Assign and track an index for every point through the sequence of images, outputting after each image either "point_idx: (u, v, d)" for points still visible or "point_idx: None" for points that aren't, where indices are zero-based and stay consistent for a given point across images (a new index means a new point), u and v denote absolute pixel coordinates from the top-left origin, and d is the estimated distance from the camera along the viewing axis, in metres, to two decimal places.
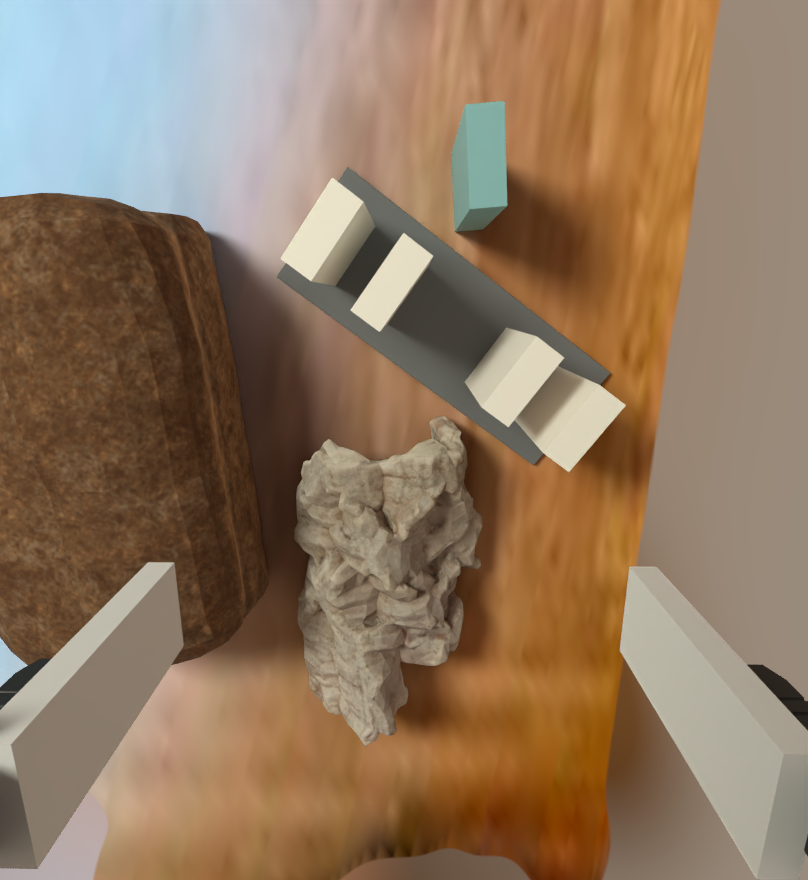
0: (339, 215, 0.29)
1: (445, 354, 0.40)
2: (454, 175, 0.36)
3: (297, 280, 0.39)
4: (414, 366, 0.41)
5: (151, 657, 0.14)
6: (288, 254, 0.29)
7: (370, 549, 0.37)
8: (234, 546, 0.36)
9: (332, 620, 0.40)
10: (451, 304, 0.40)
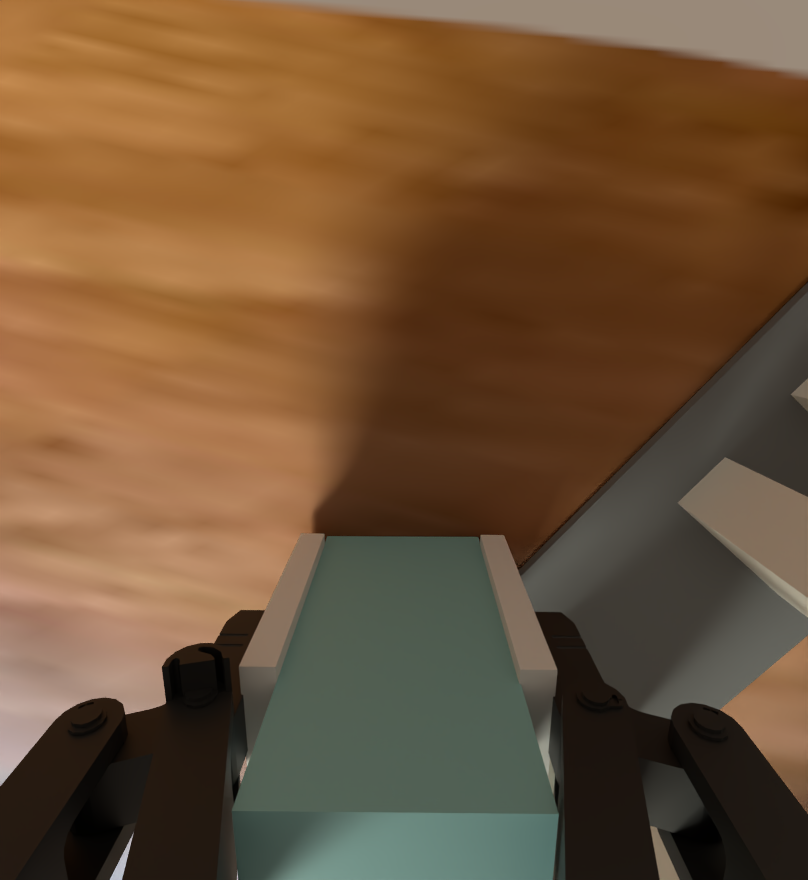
0: None
1: (707, 629, 0.18)
2: None
3: None
4: (718, 688, 0.19)
5: None
6: None
7: None
8: None
9: None
10: (604, 612, 0.18)
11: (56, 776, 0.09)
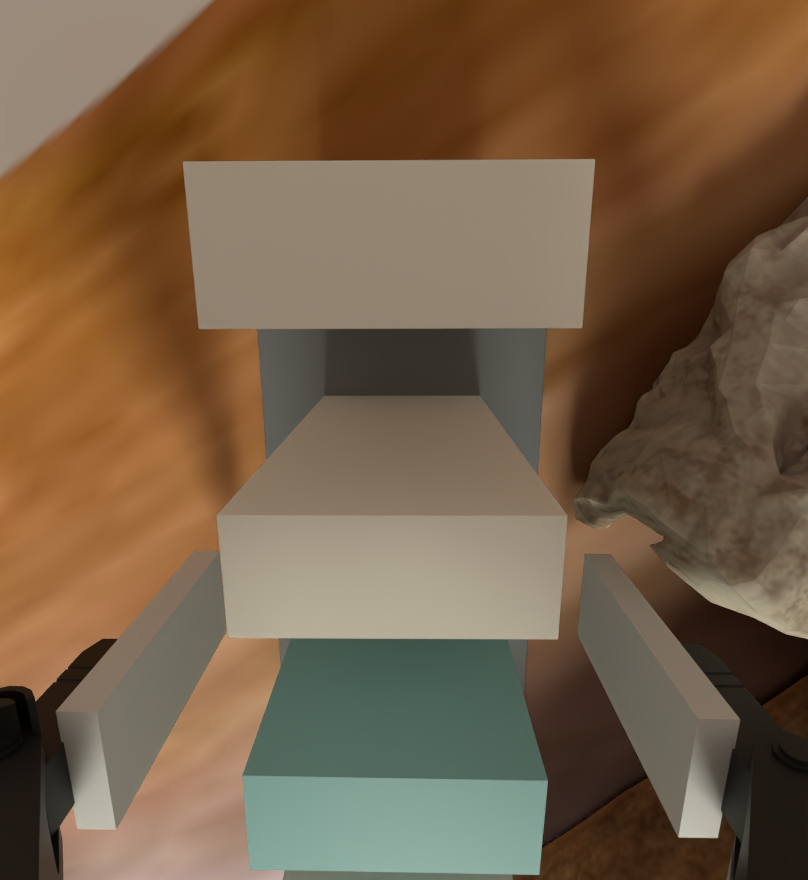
0: None
1: None
2: None
3: None
4: None
5: (201, 640, 0.15)
6: None
7: None
8: None
9: None
10: None
11: None
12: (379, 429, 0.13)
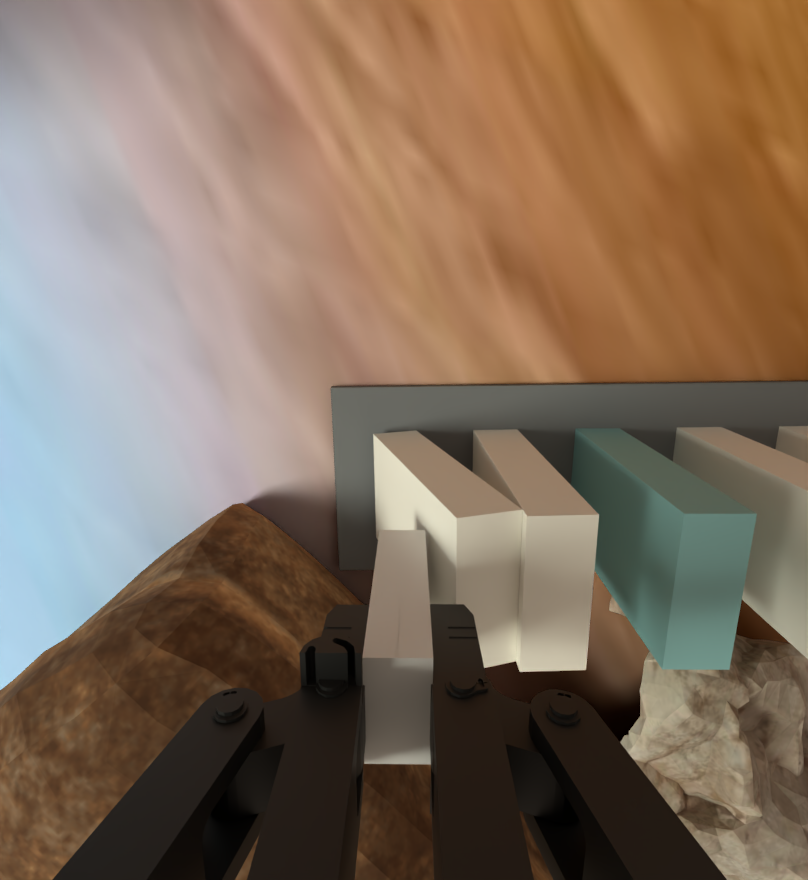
0: (500, 554, 0.16)
1: None
2: (585, 476, 0.23)
3: (366, 557, 0.26)
4: None
5: None
6: None
7: (734, 863, 0.22)
8: None
9: None
10: None
11: (200, 762, 0.09)
12: None
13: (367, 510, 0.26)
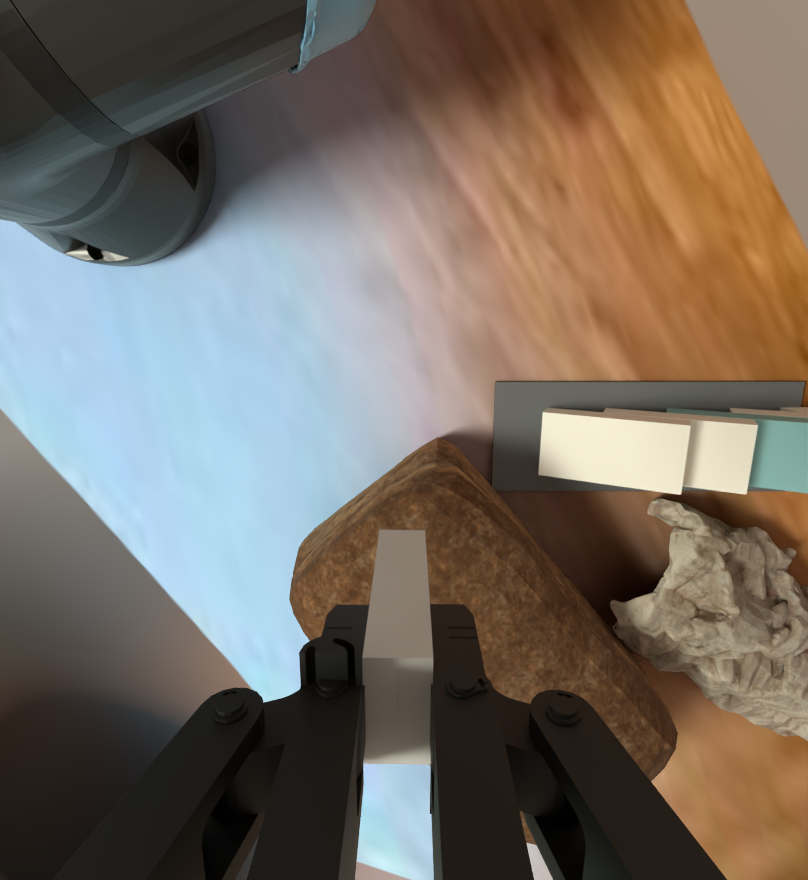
0: None
1: None
2: None
3: (508, 483, 0.44)
4: None
5: None
6: (681, 487, 0.38)
7: (726, 641, 0.40)
8: (636, 667, 0.40)
9: (753, 697, 0.43)
10: None
11: (200, 761, 0.09)
12: None
13: (511, 454, 0.44)
